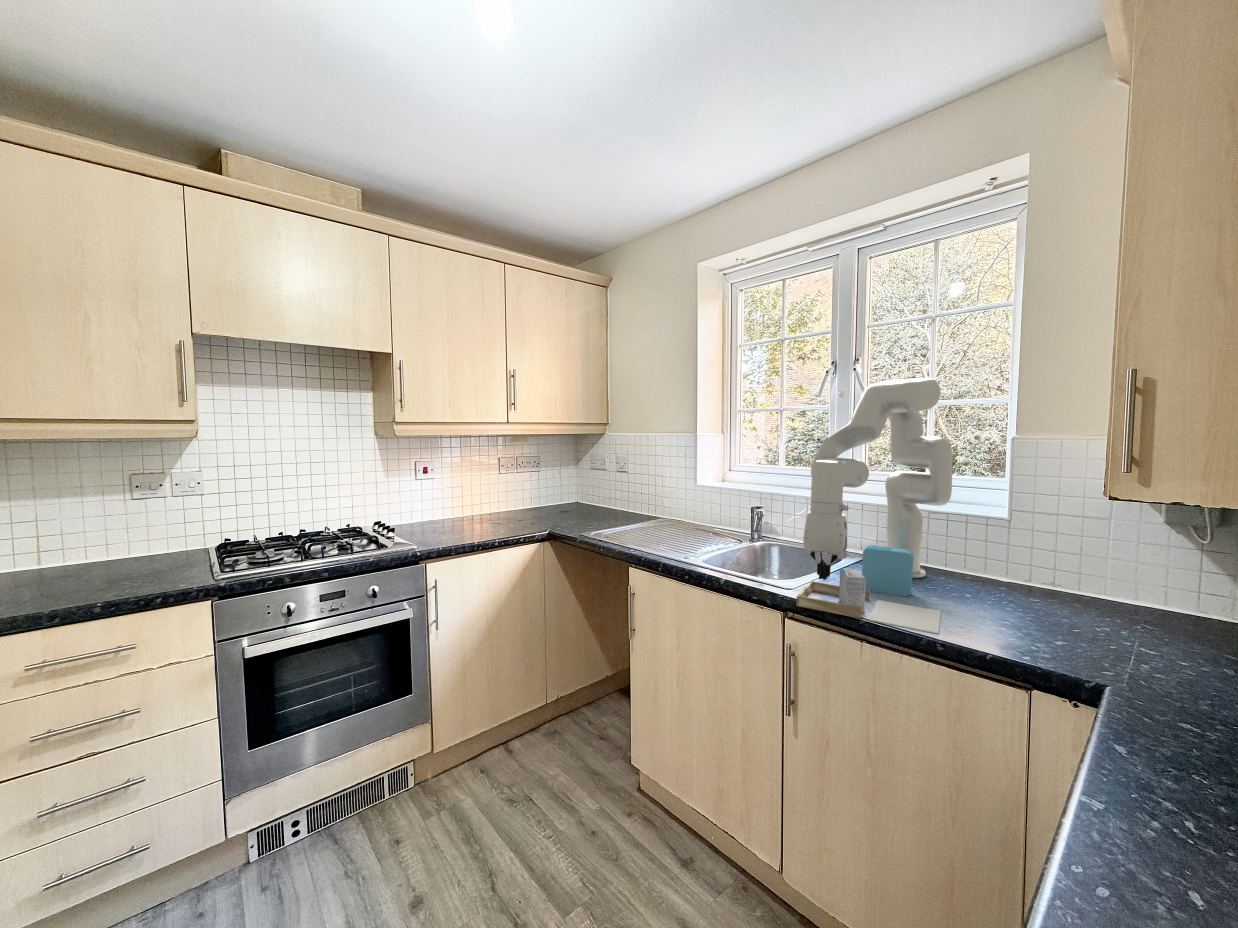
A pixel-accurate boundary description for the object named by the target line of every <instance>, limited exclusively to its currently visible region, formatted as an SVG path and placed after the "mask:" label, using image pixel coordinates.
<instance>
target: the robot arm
mask: <svg viewBox="0 0 1238 928" xmlns="http://www.w3.org/2000/svg"><path fill="white" fill-rule="evenodd" d="M941 393H942V392H941V386H940V385H939V383H938V382H937V380H935V378H931V377H922V378H908V379H907V378H906V379H905V378H904V379H903V378H902V379H890V380H884V381H881V382H876V383H873V384H870V385H868V386H867V387H866V388H865V389H864V391H863V393H862V394H861V397H860V399H859V401H858V403H857V405H856V408H855V410H854V412H853V413H852V415H851V418H850V420H849V422H848V424H846V425H844V426H842V427H841V428H840V429H838V430H837V431H835V432H834V433H832V434H831V435H830V436H829V437H828V438H826V439H825V440H824V441H823V442H822V444H820V446H819V448H818V450H817V452H816V454H815V456H814V458H813V461H812V464H811V468H810V475H811V483H810V484H811V486H810V487H811V489H810V509H809V510H810V511H808V512H807V514H806V519H805V524H804V531H803V543H802V545H803V548H802V553H803V554H805V555H808V556H810V557H812V558H813V559H814V561H815V563H816V565H817V566H816V574H817V575H818V579H819V580H824V581H826V580H827V579H828V577H830V576H831V569H832V567H831V566H832V563H834V562H835V561H837V560H844V559H847V557H848V553H847V549H848V523H847V517H846V514H845V513H843V512H845V511H846V512H849V505H846V504H845V503H844V502H843V497H844V496H843V495H844V493H843V492H844V488H853V489H854V488H860V487H862V486H864V484H866V482H867V481H868V479H869V476H870V471H869V467H868V465H867V464H866V463H865V462H864V461H862V460H860V459H856V458H845V457H839V456H840V455H842V454H843V453H844V452H846V451H849V450H850V449H853V448H857V447H860V446H863V445H866V444H868V443H871V442H873V441H876V440H877V439H879V437H880V436H881V434H882V431H883V429H884V427H885V424H886V422H887V421H888V419H889V422H890V456H891V457H890V458H891V461H892V462H893V464H894V465H896V466H898V467H904V468H914V469H917V468H918V469H928V471H929V472H921V471H913V470H912V471H911V470H897V471H894V472H891V473H890V474H889V475H888V476H887V477H886V479H885V483H884V484H885V494H886V501H887V519H886V520H887V522H886V524H887V525H886V539H885V541H886V542H885V547H890V548H898V549H906V550H910V551H911V552H912V553H913V556H914V558H913V576H912V579H920V578H924V577H926V573H927V572H926V571H925V570H924V569H923V568H921V558H922V538H923V522H924V521H923V515H922V512H921V510H920V509H919V508H918V506H917V504H918V505H925V506H935V507H941V506H945V505H947V504H948V503H949V502H950V500H951V498H952V497H951V496H952V491H953V450H952V445H951V443H950V442H949V440H948V439H947V438H946V437H945V438H944V437H942V436H932V435H931V436H930V435H929V436H927V435H924V421H923V417H922V415H921V413H920V412H922V411H925V410H929V409H932V408H934V407H935V406H936V405H937V404H938V402H939V400H940V398H941ZM824 553H825V554H826V557H825V561H824V558H823V557H824V556H823V554H824Z"/></svg>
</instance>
